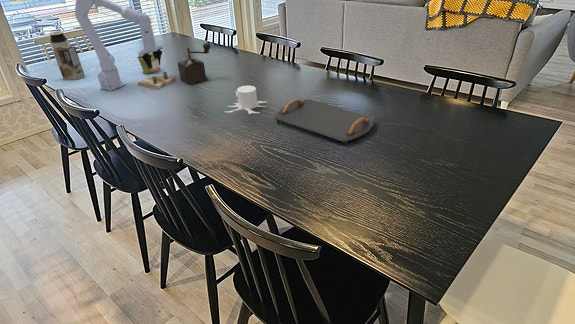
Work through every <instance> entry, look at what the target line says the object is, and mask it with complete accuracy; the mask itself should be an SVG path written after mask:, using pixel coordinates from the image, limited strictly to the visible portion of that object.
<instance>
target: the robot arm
mask: <svg viewBox="0 0 575 324" xmlns="http://www.w3.org/2000/svg"><path fill="white" fill-rule="evenodd" d="M93 6H94V8H100V7H102V8H105V9H108V10H110V11H113V12H116V13H118V14H120V15H121V18H122V19H125V20H127V21H130V22H131V23H134V24H138V25H139V29H140V34H141V35H140V36H141V38H142V39H141V40H142V44H143V49H142V50H140V51H138V52H137V55H138V56H141V57H142V58H143V60H144V61H145V62H146V64H147V66H148V68H150V69H152V63H151V55H148V54H153V56H154V58H156V59H158V61H159V66H161V60H162V55H163V49H164V46H163V45H162V44H158V45H157V44H156V39H155V35H154V31H153V27H152V20H151V17H150V16H149V14H147V13H146V12H143V11H142V10H140V11H139V10H136V9H134V8H133V7H132V6H131V5H129V6H128V5H125V6H121V5H119V4H118V3H115V2H113V1H111V0H75V7H74V9H75V10H74V11H75V12H74V17H75V19H76V20H77V22H78V24H79V26H80V27H81V29H82V31H83V32H84V35H85V36H86V38H87V39H88V41H89V42H90V44H91V46H92V48H93V50H94V51H95V53H96V56H97V59H98V62H99V67H100V68H101V69H100V70H101V71H100V72H99V73H98V74H97V79H98V82H99V85H100V87H99V89H100V90H106V91H110V92H111V91H114V90H117V89H119V88H121V87H123V86H126V83H124V82H122V80H121V77H120V73H119V69H118V67H117V66H116V64H115V61H116V59H115V57H114V56H113V55H112V54H111V53H110V52H109V50H108V49H107V48H106V47H105V45H104V43H103V41H102V39H101V37H100V35H99V34H98V32H97V30H96V28H95V27H94V25H93V23H92V21H91V20H90V18H89V16H88V14H89V13H90V10H91V9H92V8H93Z"/></svg>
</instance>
